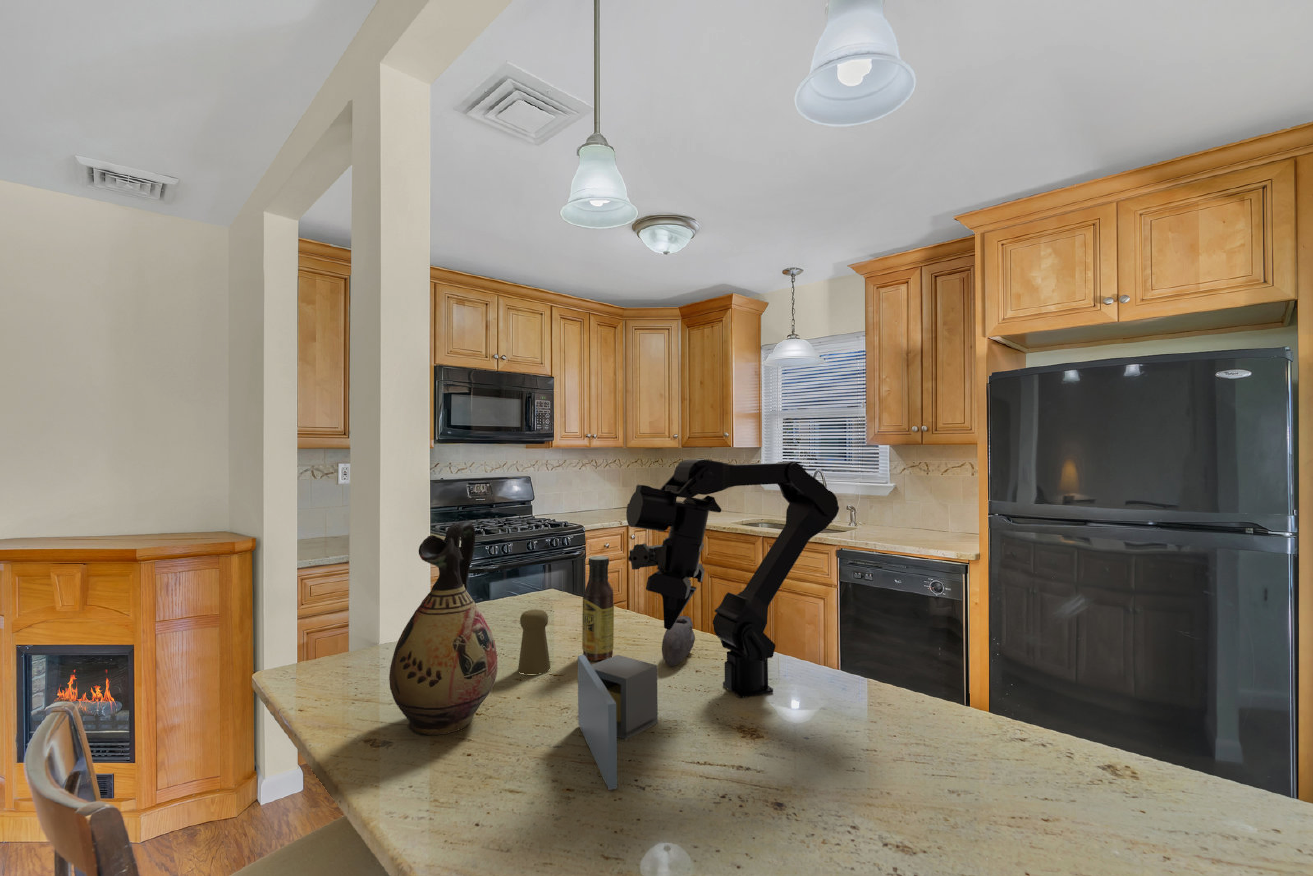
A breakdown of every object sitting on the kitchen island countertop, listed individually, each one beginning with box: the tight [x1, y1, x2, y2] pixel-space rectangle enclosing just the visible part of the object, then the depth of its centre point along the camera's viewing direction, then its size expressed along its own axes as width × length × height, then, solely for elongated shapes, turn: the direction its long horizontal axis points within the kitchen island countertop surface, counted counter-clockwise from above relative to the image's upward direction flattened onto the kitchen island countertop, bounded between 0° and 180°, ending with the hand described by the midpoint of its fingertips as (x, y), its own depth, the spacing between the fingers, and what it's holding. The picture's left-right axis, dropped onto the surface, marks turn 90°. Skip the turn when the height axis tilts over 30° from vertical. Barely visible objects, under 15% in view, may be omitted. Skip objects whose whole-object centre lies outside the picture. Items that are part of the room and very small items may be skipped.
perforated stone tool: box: [661, 615, 696, 667], centre depth 120 cm, size 15×5×7 cm, turn 162°
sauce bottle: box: [581, 555, 615, 662], centre depth 122 cm, size 7×6×20 cm
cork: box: [517, 608, 551, 674], centre depth 115 cm, size 6×6×11 cm
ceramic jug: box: [388, 520, 498, 737], centre depth 94 cm, size 17×15×30 cm
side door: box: [577, 654, 618, 791], centre depth 82 cm, size 1×19×10 cm, turn 18°
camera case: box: [591, 654, 659, 741], centre depth 91 cm, size 7×8×8 cm
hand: (667, 628), depth 100 cm, fingers closed
